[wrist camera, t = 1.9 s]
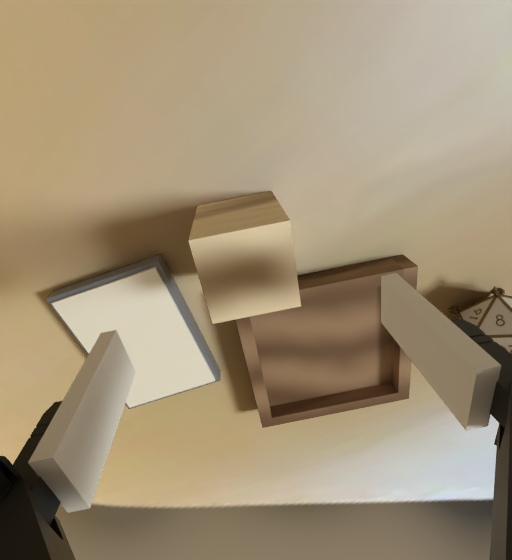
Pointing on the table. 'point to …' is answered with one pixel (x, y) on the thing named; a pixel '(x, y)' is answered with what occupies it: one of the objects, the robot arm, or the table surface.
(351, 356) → the walnut tray
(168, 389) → the white grey flat slab
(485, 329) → the game die
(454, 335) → the robot arm
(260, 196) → the beech block
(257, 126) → the table surface
